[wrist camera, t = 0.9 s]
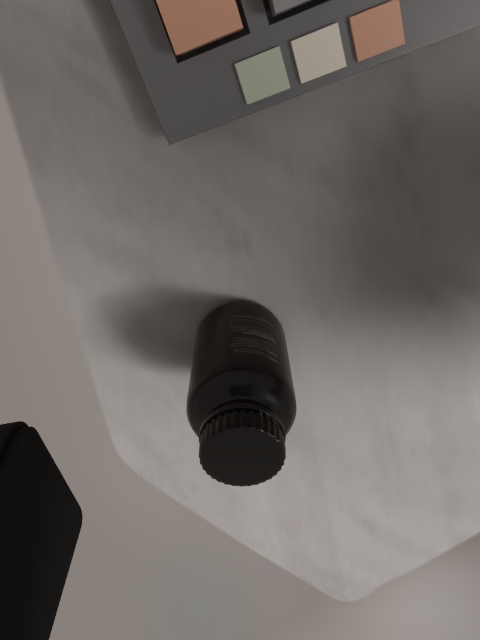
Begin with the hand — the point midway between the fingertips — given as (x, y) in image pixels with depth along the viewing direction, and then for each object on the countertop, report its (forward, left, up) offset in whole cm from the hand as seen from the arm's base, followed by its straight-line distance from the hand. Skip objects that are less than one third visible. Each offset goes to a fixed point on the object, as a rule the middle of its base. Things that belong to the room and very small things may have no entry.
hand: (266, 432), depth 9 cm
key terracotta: (-1, -9, -21) cm, 23 cm away
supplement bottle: (+4, +11, -23) cm, 26 cm away
